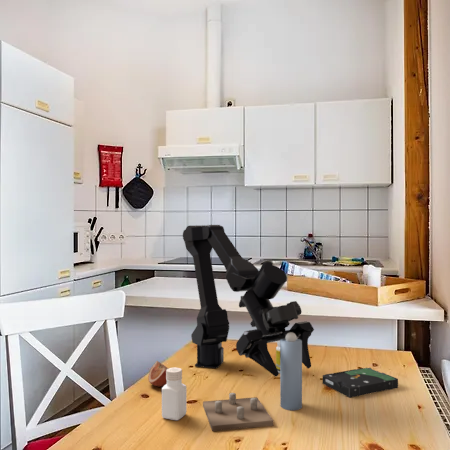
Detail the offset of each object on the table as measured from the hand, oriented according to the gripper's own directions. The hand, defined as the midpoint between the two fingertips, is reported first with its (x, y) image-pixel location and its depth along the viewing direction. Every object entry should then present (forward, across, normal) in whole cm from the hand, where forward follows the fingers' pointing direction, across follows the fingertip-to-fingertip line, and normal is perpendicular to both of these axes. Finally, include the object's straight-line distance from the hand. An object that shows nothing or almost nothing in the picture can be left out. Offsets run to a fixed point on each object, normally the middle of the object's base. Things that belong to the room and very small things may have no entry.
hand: (293, 371), depth 97 cm
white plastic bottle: (-2, -23, +13) cm, 27 cm away
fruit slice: (-14, -18, +25) cm, 34 cm away
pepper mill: (+5, 0, +6) cm, 8 cm away
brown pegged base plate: (+3, -13, +8) cm, 15 cm away
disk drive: (+5, +22, +7) cm, 24 cm away
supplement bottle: (-8, +14, +19) cm, 25 cm away
